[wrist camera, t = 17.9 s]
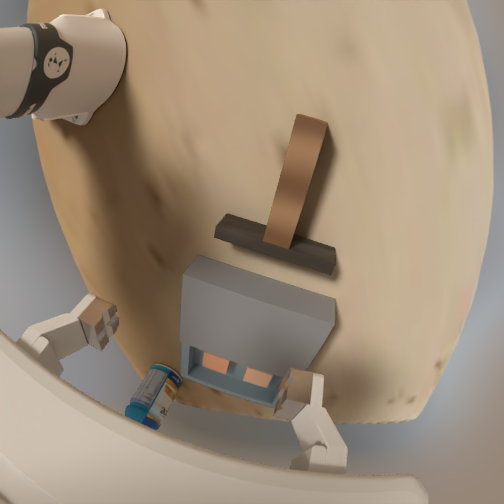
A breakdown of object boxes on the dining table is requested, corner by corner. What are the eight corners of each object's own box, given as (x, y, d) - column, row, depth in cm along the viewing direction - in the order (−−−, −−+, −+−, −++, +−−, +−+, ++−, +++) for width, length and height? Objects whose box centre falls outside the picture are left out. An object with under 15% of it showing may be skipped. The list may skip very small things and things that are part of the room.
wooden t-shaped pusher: (250, 102, 27) (240, 101, 24) (374, 139, 26) (382, 143, 22) (225, 223, 35) (214, 237, 32) (330, 257, 34) (330, 274, 31)
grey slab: (191, 321, 46) (179, 341, 42) (198, 254, 39) (182, 274, 34) (302, 358, 44) (298, 381, 40) (335, 298, 37) (334, 323, 32)
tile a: (204, 352, 44) (209, 341, 46) (202, 365, 47) (207, 356, 49) (229, 361, 44) (233, 350, 46) (225, 374, 46) (229, 364, 48)
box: (188, 361, 53) (180, 376, 50) (191, 321, 46) (181, 337, 43) (280, 392, 51) (276, 408, 48) (302, 358, 44) (299, 376, 41)
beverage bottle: (157, 357, 56) (114, 428, 39) (189, 377, 56) (152, 450, 40) (147, 369, 60) (109, 432, 43) (176, 387, 61) (142, 452, 44)
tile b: (247, 367, 44) (251, 356, 46) (242, 380, 46) (246, 369, 48) (273, 375, 43) (275, 364, 45) (266, 387, 46) (269, 377, 48)
